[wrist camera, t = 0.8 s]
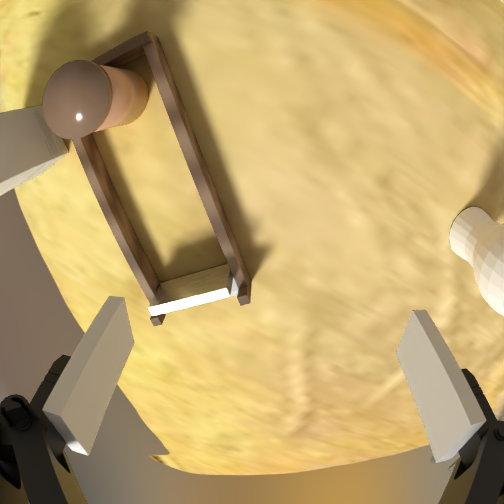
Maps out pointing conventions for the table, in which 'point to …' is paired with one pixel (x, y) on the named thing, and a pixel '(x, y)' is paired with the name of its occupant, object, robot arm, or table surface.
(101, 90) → the jar
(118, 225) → the frame
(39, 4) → the table surface
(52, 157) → the skincare box
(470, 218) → the cup
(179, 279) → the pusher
